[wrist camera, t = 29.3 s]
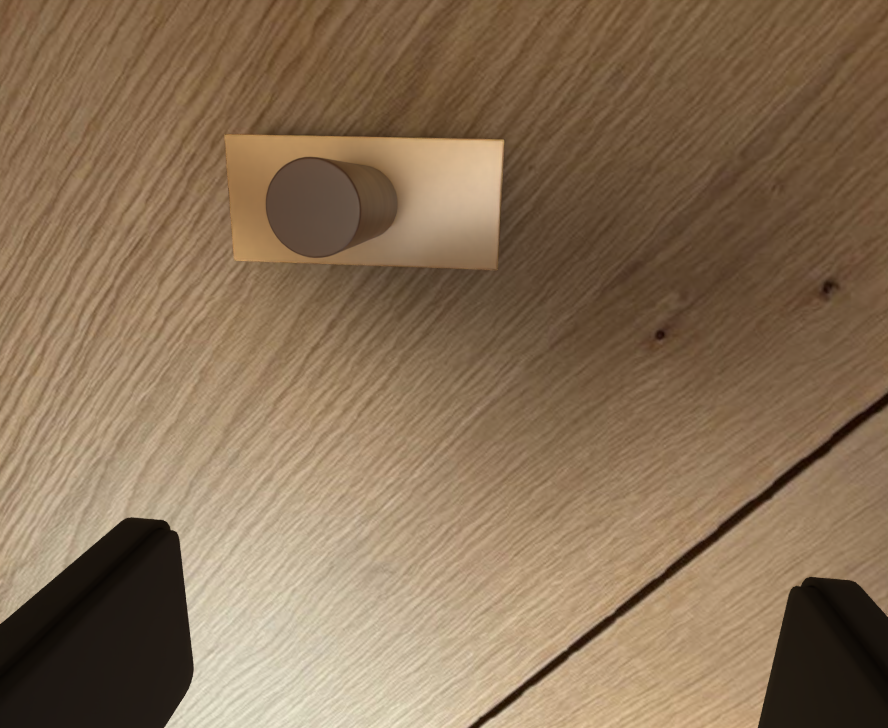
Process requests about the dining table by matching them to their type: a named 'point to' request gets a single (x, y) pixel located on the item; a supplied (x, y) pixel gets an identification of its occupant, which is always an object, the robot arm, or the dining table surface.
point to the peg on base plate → (365, 200)
